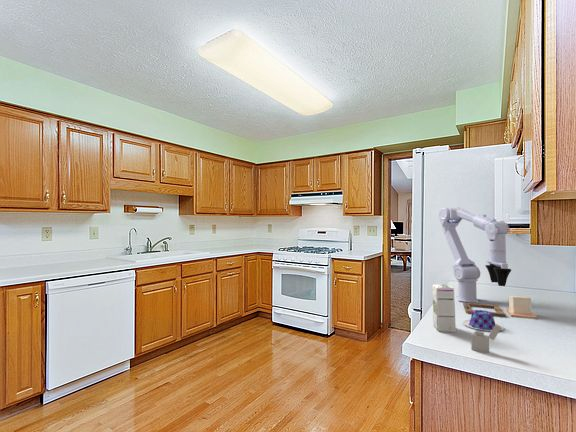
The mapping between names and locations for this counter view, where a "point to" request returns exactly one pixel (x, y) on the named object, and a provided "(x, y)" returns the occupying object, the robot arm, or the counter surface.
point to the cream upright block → (520, 304)
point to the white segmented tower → (444, 308)
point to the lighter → (483, 339)
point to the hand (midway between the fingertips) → (498, 284)
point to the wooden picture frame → (498, 310)
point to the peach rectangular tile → (521, 314)
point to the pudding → (481, 320)
